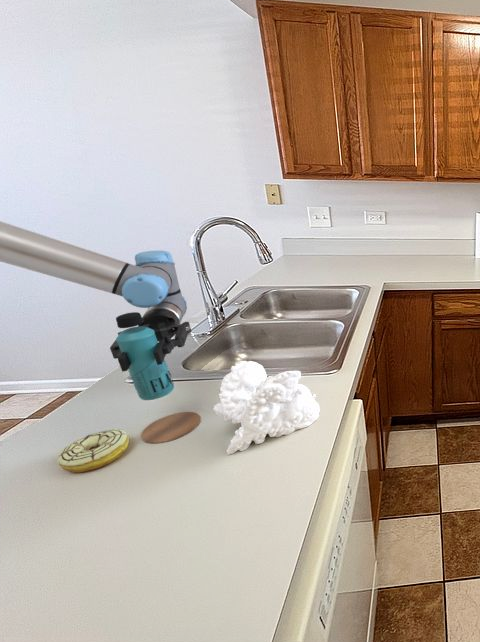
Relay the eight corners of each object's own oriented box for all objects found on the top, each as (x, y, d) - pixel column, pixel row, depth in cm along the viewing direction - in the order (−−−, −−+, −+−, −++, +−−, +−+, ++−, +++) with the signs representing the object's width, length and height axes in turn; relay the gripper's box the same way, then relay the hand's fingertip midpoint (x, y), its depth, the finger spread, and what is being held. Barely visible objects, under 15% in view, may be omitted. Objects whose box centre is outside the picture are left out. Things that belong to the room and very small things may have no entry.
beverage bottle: (156, 408, 84) (123, 322, 76) (132, 404, 85) (97, 319, 78) (184, 391, 90) (156, 310, 82) (161, 388, 91) (132, 307, 84)
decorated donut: (97, 439, 87) (91, 425, 85) (144, 441, 86) (139, 426, 85) (46, 474, 77) (39, 459, 76) (99, 476, 76) (92, 461, 75)
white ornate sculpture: (345, 376, 94) (269, 367, 77) (321, 462, 91) (237, 472, 74) (294, 361, 103) (216, 350, 86) (271, 439, 100) (186, 443, 83)
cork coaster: (128, 442, 86) (127, 440, 86) (168, 412, 96) (168, 410, 96) (175, 445, 85) (175, 443, 85) (211, 414, 95) (211, 412, 95)
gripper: (207, 328, 103) (198, 367, 84) (119, 343, 95) (88, 389, 76) (200, 302, 101) (189, 335, 82) (109, 314, 93) (73, 355, 74)
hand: (140, 361), depth 79 cm, fingers closed on beverage bottle, 5 cm apart
